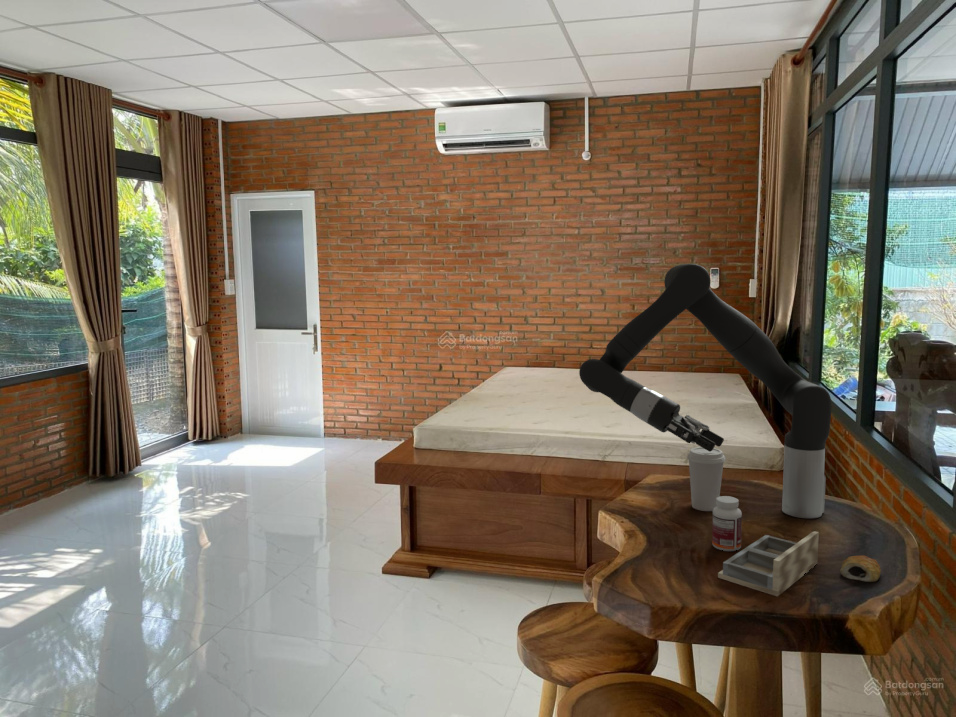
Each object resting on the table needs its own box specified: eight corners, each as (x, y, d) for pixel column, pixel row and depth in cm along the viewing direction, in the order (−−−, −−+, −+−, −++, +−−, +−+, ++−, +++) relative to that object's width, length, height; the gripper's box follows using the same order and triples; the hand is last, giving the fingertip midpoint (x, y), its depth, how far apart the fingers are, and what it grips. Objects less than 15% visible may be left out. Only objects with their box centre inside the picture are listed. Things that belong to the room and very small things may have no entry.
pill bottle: (728, 539, 162) (729, 493, 160) (747, 549, 156) (748, 501, 155) (705, 543, 160) (707, 496, 158) (724, 554, 154) (725, 505, 153)
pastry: (849, 562, 149) (851, 544, 149) (886, 570, 145) (887, 553, 144) (838, 577, 142) (839, 559, 142) (876, 587, 138) (877, 568, 137)
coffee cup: (679, 508, 183) (680, 451, 181) (695, 498, 190) (696, 444, 189) (715, 515, 177) (717, 457, 175) (730, 505, 184) (731, 449, 182)
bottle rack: (760, 548, 156) (761, 518, 155) (817, 564, 148) (818, 532, 147) (717, 577, 142) (718, 544, 142) (777, 596, 134) (778, 561, 133)
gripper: (652, 397, 159) (719, 434, 151) (670, 393, 171) (732, 427, 164) (637, 426, 161) (702, 464, 153) (656, 420, 173) (717, 455, 166)
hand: (717, 445), depth 159 cm, fingers open, 8 cm apart
